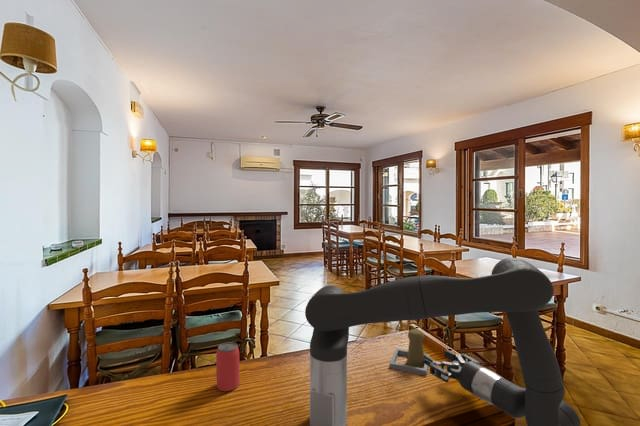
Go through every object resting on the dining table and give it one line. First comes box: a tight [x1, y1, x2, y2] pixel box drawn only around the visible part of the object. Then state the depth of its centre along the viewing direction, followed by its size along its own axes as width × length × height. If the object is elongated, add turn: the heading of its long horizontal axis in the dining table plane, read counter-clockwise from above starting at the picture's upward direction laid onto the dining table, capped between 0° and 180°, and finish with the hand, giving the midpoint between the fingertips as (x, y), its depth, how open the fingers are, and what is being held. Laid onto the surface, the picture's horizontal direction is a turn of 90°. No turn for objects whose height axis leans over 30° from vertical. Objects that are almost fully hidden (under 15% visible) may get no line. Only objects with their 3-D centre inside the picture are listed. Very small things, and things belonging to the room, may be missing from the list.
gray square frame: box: [389, 348, 430, 376], centre depth 106 cm, size 12×12×2 cm
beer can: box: [215, 341, 240, 392], centre depth 93 cm, size 7×7×12 cm
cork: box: [406, 328, 425, 368], centre depth 106 cm, size 6×6×11 cm
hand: (434, 355), depth 96 cm, fingers open, 8 cm apart
